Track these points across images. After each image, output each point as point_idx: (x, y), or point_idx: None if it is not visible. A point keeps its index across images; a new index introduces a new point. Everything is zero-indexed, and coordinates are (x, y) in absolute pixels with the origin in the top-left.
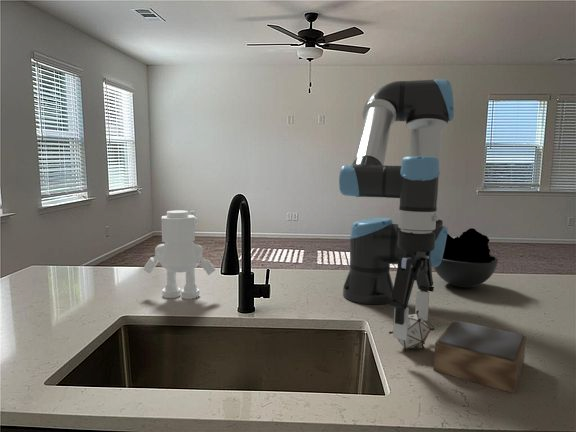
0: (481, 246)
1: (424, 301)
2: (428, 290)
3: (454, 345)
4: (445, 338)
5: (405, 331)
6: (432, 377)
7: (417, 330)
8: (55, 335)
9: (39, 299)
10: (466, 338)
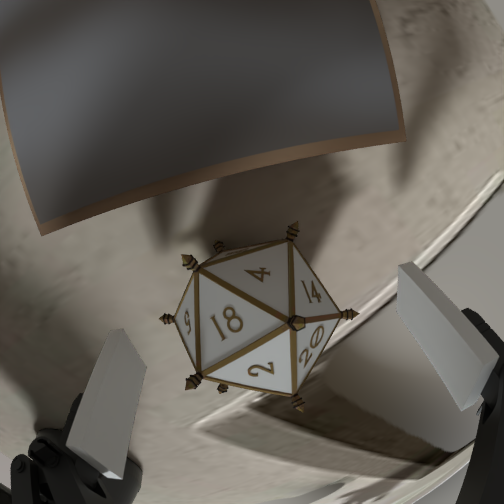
0: None
1: (105, 412)
2: (65, 455)
3: (381, 48)
4: (348, 111)
5: (433, 285)
6: None
7: (302, 287)
8: (471, 452)
9: (416, 496)
10: (247, 23)
